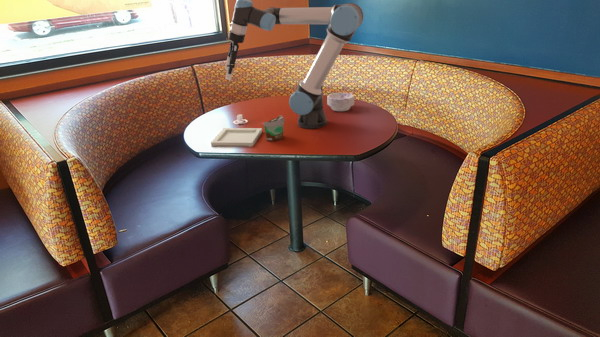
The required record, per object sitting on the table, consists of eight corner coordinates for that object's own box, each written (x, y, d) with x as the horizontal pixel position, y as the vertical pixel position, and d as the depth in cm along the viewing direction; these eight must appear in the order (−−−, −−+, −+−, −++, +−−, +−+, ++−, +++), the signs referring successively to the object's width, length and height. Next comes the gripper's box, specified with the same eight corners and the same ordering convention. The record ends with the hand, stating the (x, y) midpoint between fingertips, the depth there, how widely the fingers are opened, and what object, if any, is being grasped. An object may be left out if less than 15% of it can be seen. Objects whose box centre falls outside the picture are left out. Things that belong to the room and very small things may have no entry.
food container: (274, 144, 211) (272, 124, 206) (264, 142, 214) (262, 121, 210) (290, 136, 219) (289, 116, 215) (281, 134, 223) (279, 114, 219)
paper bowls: (354, 105, 261) (354, 91, 258) (353, 113, 248) (353, 99, 244) (328, 105, 264) (328, 92, 260) (326, 113, 250) (325, 99, 247)
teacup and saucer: (243, 125, 239) (242, 118, 237) (229, 125, 242) (228, 117, 240) (250, 120, 246) (249, 113, 245) (237, 119, 249) (236, 112, 247)
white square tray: (262, 131, 227) (261, 128, 226) (252, 146, 209) (252, 142, 208) (224, 131, 230) (223, 128, 230) (211, 146, 212) (210, 142, 212)
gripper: (229, 23, 221) (220, 63, 231) (230, 38, 200) (220, 82, 210) (244, 27, 223) (234, 67, 233) (246, 42, 202) (236, 85, 212)
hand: (227, 74), depth 222 cm, fingers open, 13 cm apart
